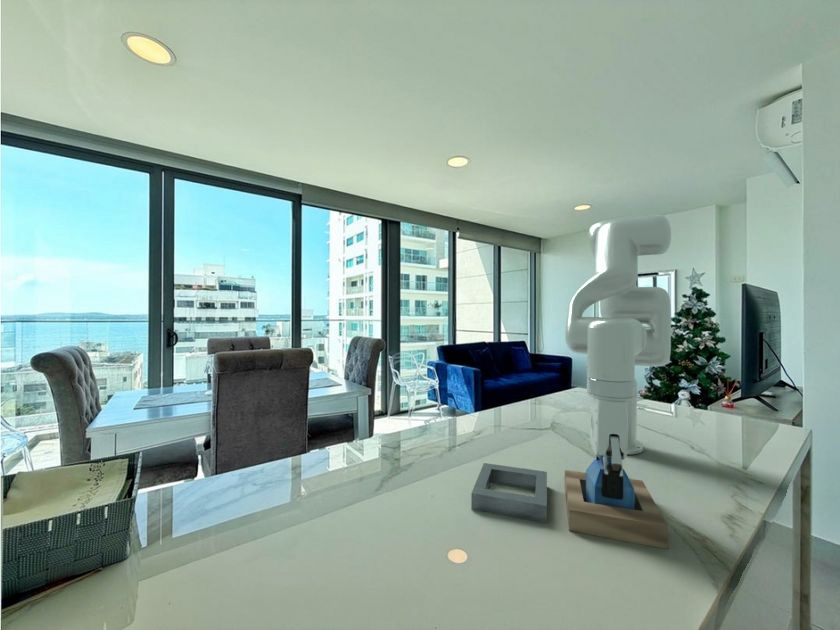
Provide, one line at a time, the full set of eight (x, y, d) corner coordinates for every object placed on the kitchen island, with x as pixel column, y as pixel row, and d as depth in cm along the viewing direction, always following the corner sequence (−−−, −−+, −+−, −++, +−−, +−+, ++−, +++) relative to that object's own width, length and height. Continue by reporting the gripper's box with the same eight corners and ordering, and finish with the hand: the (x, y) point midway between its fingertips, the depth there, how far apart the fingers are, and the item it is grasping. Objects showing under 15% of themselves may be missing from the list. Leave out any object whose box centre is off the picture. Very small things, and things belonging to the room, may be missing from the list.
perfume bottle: (633, 525, 62) (634, 454, 62) (594, 520, 64) (595, 451, 64) (621, 506, 69) (622, 442, 68) (585, 502, 70) (586, 439, 70)
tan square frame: (564, 486, 76) (564, 469, 76) (642, 498, 71) (642, 480, 71) (569, 530, 61) (569, 509, 61) (667, 548, 56) (668, 526, 56)
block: (483, 476, 80) (483, 462, 80) (546, 486, 76) (546, 471, 76) (471, 509, 67) (471, 493, 67) (546, 523, 63) (546, 505, 63)
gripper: (582, 378, 75) (581, 465, 75) (592, 397, 59) (591, 508, 59) (623, 381, 73) (622, 470, 73) (646, 401, 56) (644, 517, 57)
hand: (608, 486), depth 66 cm, fingers closed on perfume bottle, 6 cm apart
